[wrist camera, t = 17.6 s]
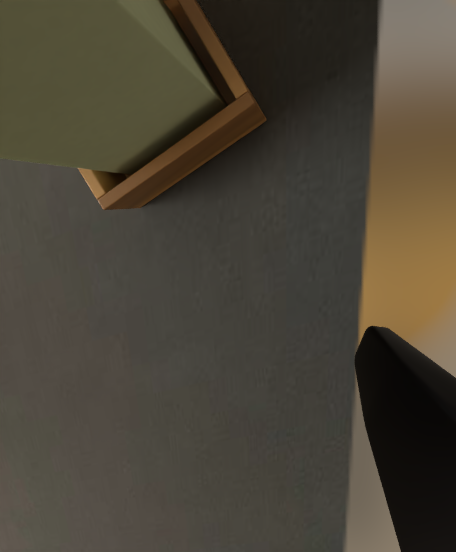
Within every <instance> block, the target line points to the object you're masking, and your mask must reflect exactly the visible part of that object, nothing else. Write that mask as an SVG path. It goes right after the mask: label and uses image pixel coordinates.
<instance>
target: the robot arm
mask: <svg viewBox="0 0 456 552" xmlns="http://www.w3.org/2000/svg"><path fill="white" fill-rule="evenodd" d="M355 369H356V375H357V381H358V387H359V392H360V399H361V405H362V411H363V417H364V422H365V427H366V430H367V434H368V438H369V441H370V445H371V448H372V452H373V455H374V459H375V462H376V466H377V469H378V473H379V476H380V480H381V483H382V487H383V490H384V493H385V497H386V501H387V504H388V507H389V511H390V515H391V518H392V521H393V525H394V528H395V532H396V535H397V539H398V542H399V546H400V549H401V552H456V378H455V377H454V376H452V375H451V374H450V373H448V372H447V371H446V370H444V369H442V368H441V367H440V366H439V365H437V364H436V363H435V362H433V361H432V360H431V359H429V358H428V357H427V356H425V355H424V354H422V353H421V352H420V351H418V350H417V349H416V348H414V347H413V346H411V345H410V344H409V343H408V342H406V341H405V340H403V339H402V338H401V337H399V336H398V335H397V334H395V333H394V332H393V331H391V330H390V329H388V328H385V327H377V326H370V327H368V328H367V329H366V331H365V333H364V335H363V338H362V340H361V342H360V345H359V347H358V350H357V352H356V355H355Z"/></svg>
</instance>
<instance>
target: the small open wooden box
mask: <svg viewBox="0 0 456 552" xmlns="http://www.w3.org/2000/svg"><path fill="white" fill-rule="evenodd" d="M163 1H164V3H165V4H166V5H167V6H168V8H169V9H170V10H171V12H172V14H173V15H174V17H175V19H176V20H177V22H178V24H179V25H180V27H181V28H182V30H183V32H184V33H185V35H186V37H187V38H188V40H189V42H190V43H191V45H192V47H193V48H194V50H195V52H196V53H197V55H198V57H199V58H200V60H201V61H202V63H203V65H204V66H205V68H206V70H207V71H208V73H209V75H210V76H211V78H212V80H213V81H214V83H215V85H216V86H217V88H218V89H219V91H220V93H221V94H222V96H223V98H224V99H225V101H226V103H227V104H228V106H227V107H226V108H224V109H223V110H221V111H220V112H219V113H217V114H216V115H214V116H213V117H212V118H210V119H209V120H208V121H206V122H205V123H203V124H202V125H201V126H199V127H198V128H196V129H195V130H194V131H192V132H191V133H190V134H188V135H187V136H185V137H184V138H183V139H181V140H180V141H178V142H177V143H176V144H174V145H173V146H171V147H170V148H169V149H167V150H166V151H165V152H163V153H162V154H160V155H159V156H158V157H156V158H155V159H153V160H152V161H151V162H149V163H148V164H146V165H145V166H144V167H142V168H141V169H140V170H138V171H137V172H135V173H134V174H133V175H131V174H123V173H115V172H107V171H99V170H91V169H83V168H78V169H79V171H80V173H81V174H82V176H83V177H84V179H85V181H86V182H87V184H88V186H89V187H90V189H91V190H92V192H93V194H94V195H95V197H96V198H97V199H98V202H99V203H100V205H101V207H102V208H103V210H112V209H131V208H141V207H142V206H144V205H145V204H146V203H148V202H149V201H151V200H152V199H154V198H155V197H157V196H158V195H160V194H161V193H162V192H164V191H165V190H167V189H168V188H170V187H171V186H173V185H174V184H176V183H177V182H178V181H180V180H181V179H183V178H184V177H186V176H187V175H189V174H190V173H191V172H193V171H194V170H196V169H197V168H199V167H200V166H202V165H203V164H205V163H206V162H207V161H209V160H210V159H212V158H213V157H215V156H216V155H218V154H219V153H220V152H222V151H223V150H225V149H226V148H228V147H229V146H231V145H232V144H234V143H235V142H236V141H238V140H239V139H241V138H242V137H244V136H245V135H247V134H248V133H250V132H251V131H252V130H254V129H255V128H257V127H258V126H260V125H261V124H263V123H264V122H265V121H266V120H267V119H266V117H265V115H264V114H263V112H262V110H261V109H260V107H259V105H258V104H257V102H256V100H255V99H254V97H253V95H252V94H251V92H250V90H249V88H248V87H247V85H246V83H245V82H244V80H243V78H242V77H241V75H240V73H239V72H238V70H237V68H236V67H235V65H234V63H233V61H232V60H231V58H230V56H229V55H228V53H227V51H226V50H225V48H224V46H223V45H222V43H221V41H220V40H219V38H218V36H217V35H216V33H215V31H214V29H213V28H212V26H211V24H210V23H209V21H208V19H207V18H206V16H205V14H204V13H203V11H202V9H201V8H200V6H199V4H198V2H197V1H196V0H163Z"/></svg>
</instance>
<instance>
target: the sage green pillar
mask: <svg viewBox="0 0 456 552" xmlns="http://www.w3.org/2000/svg"><path fill="white" fill-rule="evenodd" d="M227 106H228V104H227V103H226V101H225V99H224V98H223V96H222V94H221V93H220V91H219V89H218V88H217V86H216V85H215V83H214V81H213V80H212V78H211V76H210V75H209V73H208V71H207V70H206V68H205V66H204V65H203V63H202V61H201V60H200V58H199V57H198V55H197V53H196V52H195V50H194V48H193V47H192V45H191V43H190V42H189V40H188V38H187V37H186V35H185V33H184V32H183V30H182V28H181V27H180V25H179V24H178V22H177V20H176V19H175V17H174V15H173V14H172V12H171V10H170V9H169V8H168V6H167V5H166V4H165V3H164V1H163V0H0V158H2V159H10V160H18V161H26V162H34V163H42V164H51V165H59V166H67V167H75V168H83V169H91V170H99V171H107V172H115V173H123V174H131V175H133V174H134V173H135V172H137V171H138V170H140V169H141V168H142V167H144V166H145V165H146V164H148V163H149V162H151V161H152V160H153V159H155V158H156V157H158V156H159V155H160V154H162V153H163V152H165V151H166V150H167V149H169V148H170V147H171V146H173V145H174V144H176V143H177V142H178V141H180V140H181V139H183V138H184V137H185V136H187V135H188V134H190V133H191V132H192V131H194V130H195V129H196V128H198V127H199V126H201V125H202V124H203V123H205V122H206V121H208V120H209V119H210V118H212V117H213V116H214V115H216V114H217V113H219V112H220V111H221V110H223V109H224V108H226V107H227Z"/></svg>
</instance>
